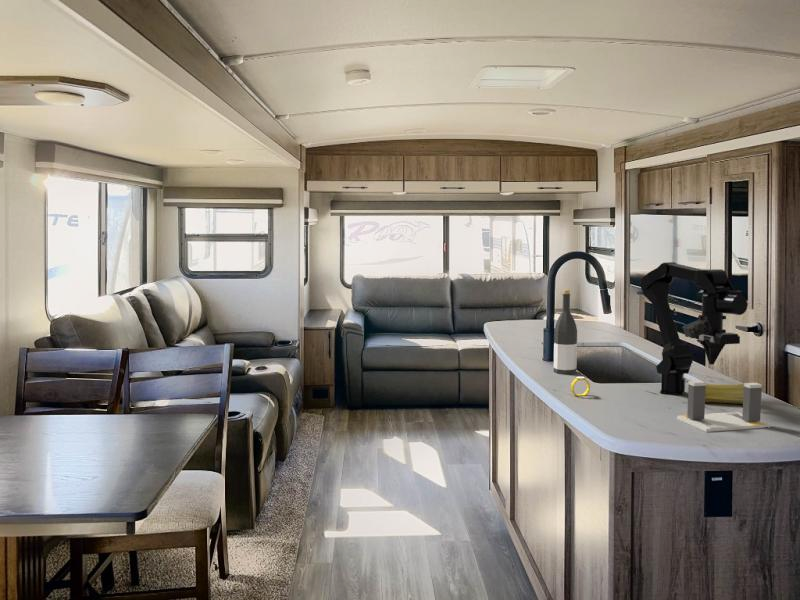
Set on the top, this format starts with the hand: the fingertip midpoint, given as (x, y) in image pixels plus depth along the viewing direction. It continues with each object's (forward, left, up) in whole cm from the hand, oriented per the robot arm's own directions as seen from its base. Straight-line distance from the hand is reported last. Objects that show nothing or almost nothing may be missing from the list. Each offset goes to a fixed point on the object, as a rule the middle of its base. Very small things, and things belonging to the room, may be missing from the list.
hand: (711, 364), depth 217 cm
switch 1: (-1, -23, -11) cm, 25 cm away
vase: (+10, +4, -9) cm, 14 cm away
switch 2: (+12, -18, -11) cm, 25 cm away
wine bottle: (-51, +26, -12) cm, 58 cm away
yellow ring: (-37, -7, -12) cm, 40 cm away
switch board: (+5, -20, -12) cm, 24 cm away
